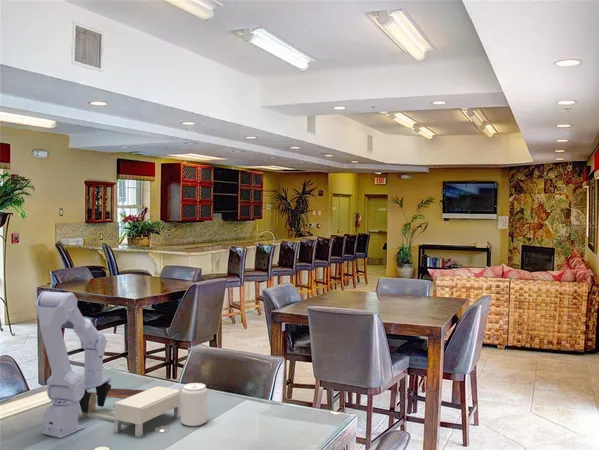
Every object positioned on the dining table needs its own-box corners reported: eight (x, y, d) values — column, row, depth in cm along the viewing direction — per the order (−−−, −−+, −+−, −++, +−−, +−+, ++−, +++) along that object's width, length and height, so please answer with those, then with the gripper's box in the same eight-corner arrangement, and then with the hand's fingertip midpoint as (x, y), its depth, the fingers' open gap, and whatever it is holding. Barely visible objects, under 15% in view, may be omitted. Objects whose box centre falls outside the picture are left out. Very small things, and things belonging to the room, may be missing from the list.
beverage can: (182, 428, 175) (182, 390, 175) (180, 419, 183) (181, 383, 183) (207, 426, 177) (208, 388, 177) (205, 417, 185) (205, 381, 185)
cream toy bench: (140, 438, 167) (140, 408, 167) (113, 431, 171) (114, 402, 171) (181, 417, 185) (181, 390, 185) (156, 412, 189) (157, 386, 189)
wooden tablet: (89, 392, 206) (104, 382, 216) (89, 398, 207) (105, 387, 216) (154, 399, 200) (167, 388, 210) (154, 405, 201) (167, 394, 210)
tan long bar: (129, 426, 176) (129, 404, 176) (81, 415, 185) (81, 394, 185) (138, 422, 180) (138, 400, 180) (90, 411, 189) (90, 391, 189)
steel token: (162, 435, 170) (162, 432, 170) (152, 431, 173) (152, 429, 173) (172, 430, 174) (172, 428, 174) (162, 427, 176) (162, 424, 176)
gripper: (100, 362, 194) (100, 401, 194) (67, 372, 181) (66, 413, 181) (116, 365, 191) (115, 404, 191) (83, 375, 178) (82, 417, 178)
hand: (92, 409), depth 186 cm, fingers open, 6 cm apart
